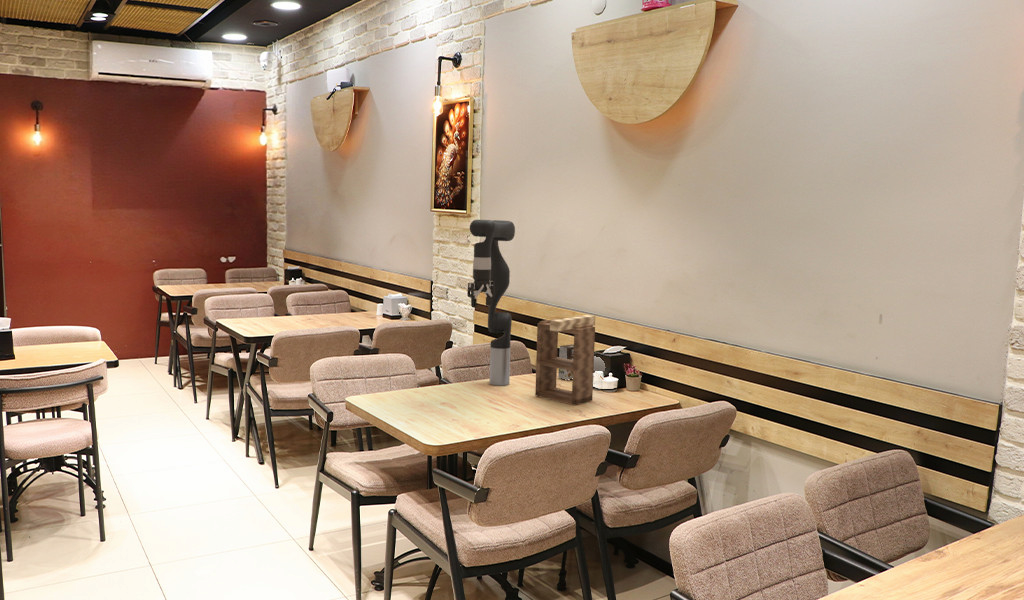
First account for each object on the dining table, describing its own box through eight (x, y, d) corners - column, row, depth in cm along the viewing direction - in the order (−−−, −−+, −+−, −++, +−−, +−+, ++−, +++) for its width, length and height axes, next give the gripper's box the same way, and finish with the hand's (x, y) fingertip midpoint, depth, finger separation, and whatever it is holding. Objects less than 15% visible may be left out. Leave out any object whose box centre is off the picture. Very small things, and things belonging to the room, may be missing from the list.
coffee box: (567, 381, 376) (568, 347, 374) (557, 378, 381) (559, 345, 379) (580, 378, 382) (582, 345, 380) (571, 376, 387) (572, 343, 385)
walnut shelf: (575, 405, 332) (578, 327, 328) (535, 395, 346) (537, 321, 342) (592, 400, 341) (595, 324, 337) (552, 391, 355) (554, 318, 351)
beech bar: (557, 331, 322) (557, 321, 322) (549, 330, 325) (550, 320, 325) (595, 325, 342) (595, 315, 341) (587, 323, 344) (587, 314, 344)
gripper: (476, 269, 321) (475, 309, 323) (500, 267, 332) (499, 306, 334) (463, 268, 326) (462, 307, 328) (487, 266, 337) (486, 304, 339)
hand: (481, 306), depth 331 cm, fingers open, 8 cm apart
